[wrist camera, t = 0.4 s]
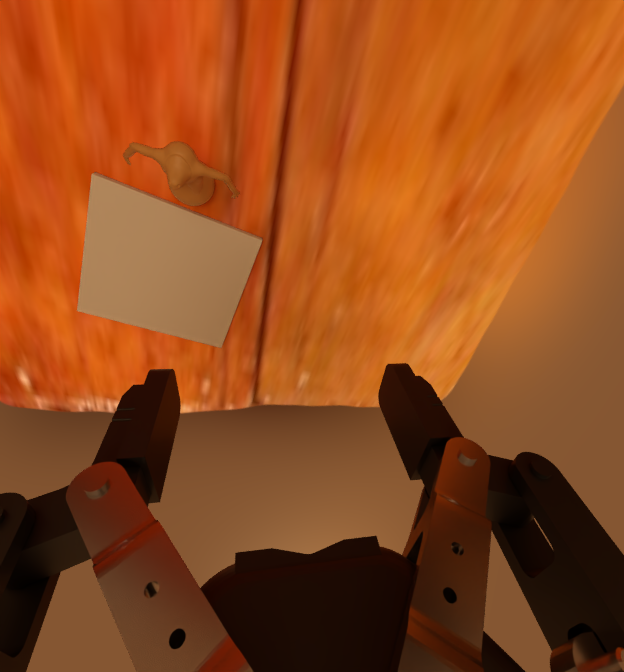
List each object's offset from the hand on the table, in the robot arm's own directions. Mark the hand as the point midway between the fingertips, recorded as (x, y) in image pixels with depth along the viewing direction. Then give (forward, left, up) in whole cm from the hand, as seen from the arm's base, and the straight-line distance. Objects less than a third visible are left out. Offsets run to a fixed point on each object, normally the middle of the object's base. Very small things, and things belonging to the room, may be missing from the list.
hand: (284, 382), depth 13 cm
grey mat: (+10, -7, -26) cm, 29 cm away
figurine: (-1, -7, -27) cm, 28 cm away
